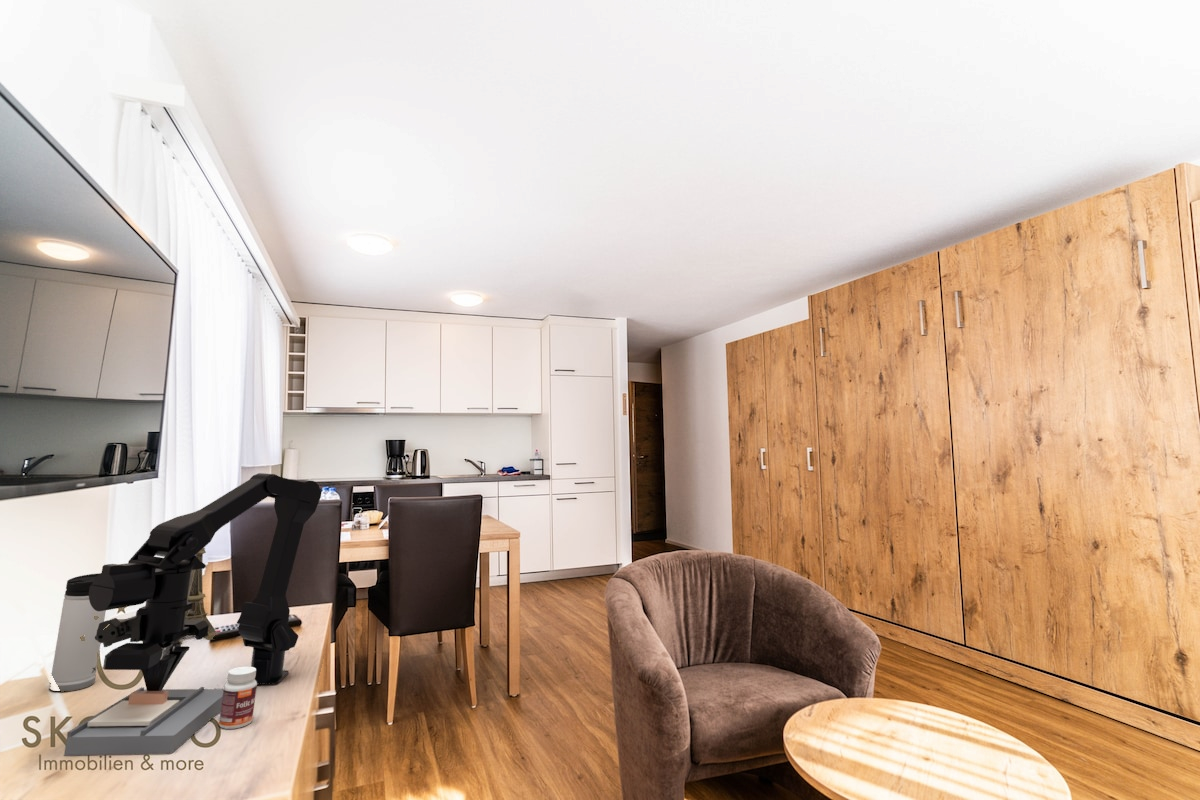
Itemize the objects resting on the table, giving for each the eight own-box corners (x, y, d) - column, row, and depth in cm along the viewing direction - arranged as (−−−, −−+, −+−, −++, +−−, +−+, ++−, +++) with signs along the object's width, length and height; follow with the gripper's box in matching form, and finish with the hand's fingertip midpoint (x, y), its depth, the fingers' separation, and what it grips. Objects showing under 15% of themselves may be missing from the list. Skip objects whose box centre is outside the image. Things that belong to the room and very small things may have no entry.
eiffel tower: (167, 647, 130) (183, 534, 133) (154, 636, 136) (169, 529, 139) (220, 638, 138) (234, 532, 141) (205, 628, 144) (219, 527, 147)
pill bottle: (236, 731, 92) (243, 676, 93) (211, 727, 93) (218, 673, 94) (259, 719, 97) (265, 667, 98) (235, 715, 98) (242, 664, 99)
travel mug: (104, 682, 108) (121, 573, 111) (62, 694, 102) (81, 579, 104) (83, 677, 110) (100, 570, 113) (40, 688, 104) (59, 575, 106)
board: (141, 704, 100) (144, 685, 100) (229, 703, 102) (231, 684, 102) (64, 755, 82) (67, 732, 83) (171, 753, 84) (174, 730, 85)
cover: (122, 704, 93) (124, 690, 93) (179, 704, 94) (181, 689, 95) (87, 726, 85) (89, 710, 86) (149, 725, 87) (151, 710, 87)
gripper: (148, 586, 104) (135, 676, 102) (72, 611, 86) (54, 722, 84) (215, 588, 106) (203, 676, 104) (154, 613, 88) (138, 721, 86)
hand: (153, 696), depth 94 cm, fingers closed
